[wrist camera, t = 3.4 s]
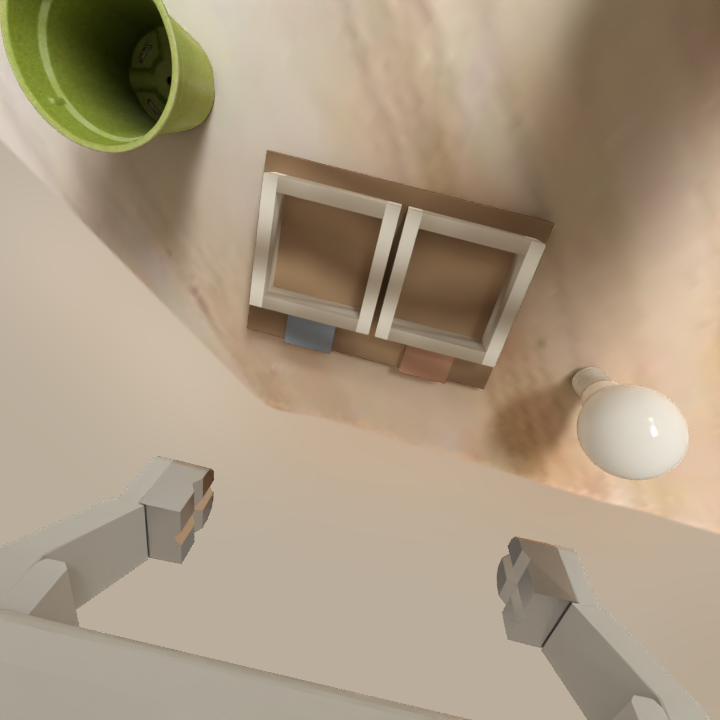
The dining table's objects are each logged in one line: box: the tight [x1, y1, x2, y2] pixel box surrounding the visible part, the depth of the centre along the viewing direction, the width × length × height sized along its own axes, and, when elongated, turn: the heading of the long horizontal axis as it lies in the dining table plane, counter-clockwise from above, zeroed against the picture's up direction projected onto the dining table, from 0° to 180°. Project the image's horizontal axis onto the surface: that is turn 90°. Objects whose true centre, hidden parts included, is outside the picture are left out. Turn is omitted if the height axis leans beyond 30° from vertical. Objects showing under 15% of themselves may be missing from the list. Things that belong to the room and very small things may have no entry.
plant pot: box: [0, 0, 215, 153], centre depth 25 cm, size 9×9×9 cm
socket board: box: [247, 150, 554, 389], centre depth 32 cm, size 14×21×4 cm, turn 77°
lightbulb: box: [572, 367, 690, 480], centre depth 30 cm, size 6×6×11 cm
